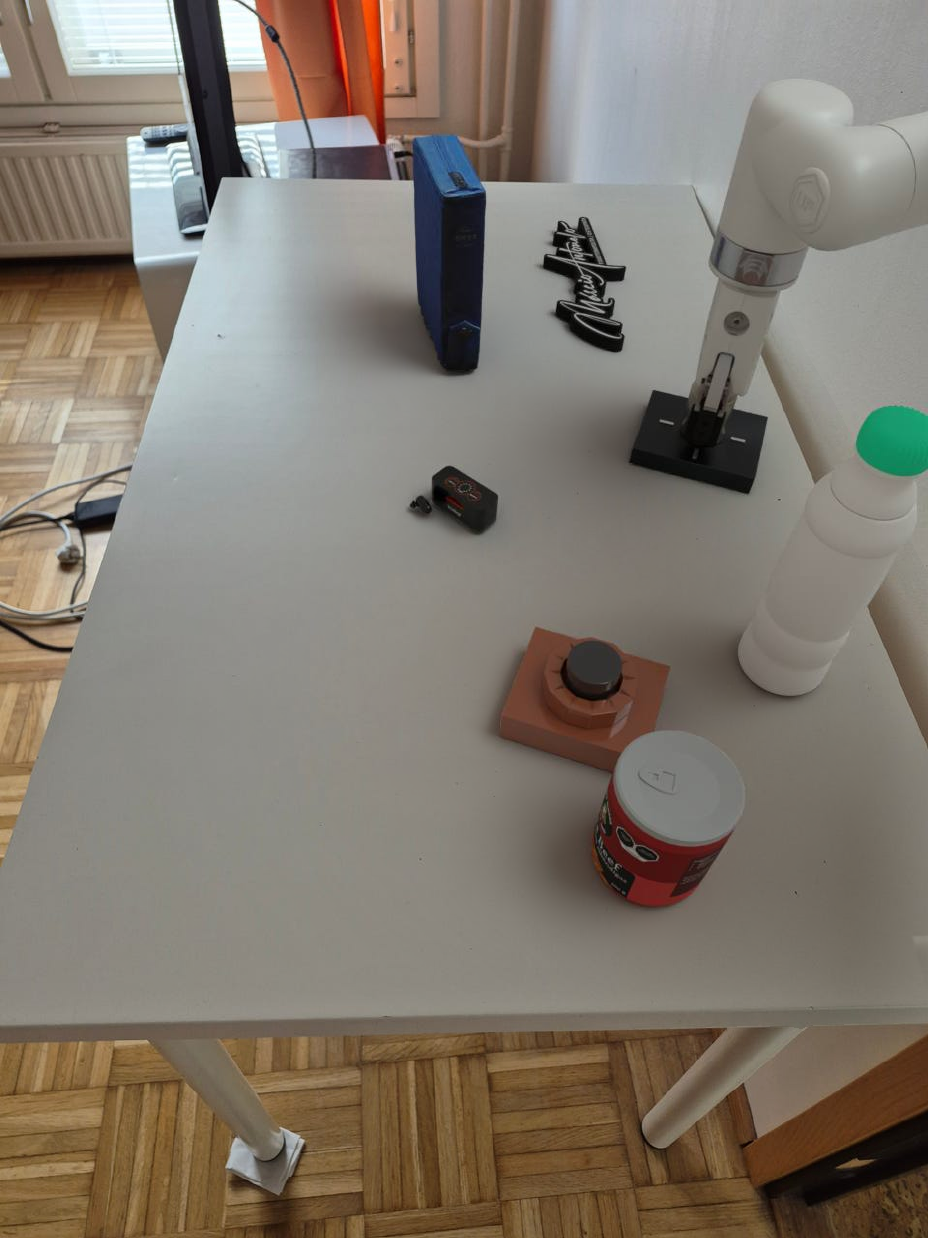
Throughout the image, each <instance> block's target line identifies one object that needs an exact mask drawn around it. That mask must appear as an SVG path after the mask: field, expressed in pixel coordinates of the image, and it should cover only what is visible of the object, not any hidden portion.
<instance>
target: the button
mask: <svg viewBox="0 0 928 1238" xmlns="http://www.w3.org/2000/svg"><path fill="white" fill-rule="evenodd" d="M621 671H622V661H621V658H620V656H619V654H618V653H617V651H616V650H615V649H614V648H612V647H611V646H609V645H608V644H606V643H603V642H600V641H584V642H581V643H579V644H577V645H576V646H574V647H573V648H572V649H571V651H570V652H569V655H568V659H567V663H566V668H565V673H564V677H565V681H566V684H567V686H568V687H569V689H570V690H571V691H572V692H573V693H575V694H576V695H578V696H580V697H582V698H585V699H589V700H599V699H603V698H606V697H608V696H609V695H611V694H612V693H613V692H614V690H615V689H616V687H617V684H618V681H619V677H620V674H621Z"/></svg>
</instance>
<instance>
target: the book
mask: <svg viewBox="0 0 928 1238" xmlns="http://www.w3.org/2000/svg"><path fill="white" fill-rule="evenodd" d="M411 145H412V181H413V212H414V213H413V215H414V247H415V248H414V250H415V274H416V292H417V293H416V294H417V296H416V297H417V303H418V306H419V308H420V315H421V316H422V317H423V325H425V328H426V330H427V331H428V333H429V339H430V340H431V341H432V345H433V346H434V347H433V348H434V351H435V352H436V356H437V361H438V363H439V366H441V368H442V369H444V370H445V371H448V372H470V371H472V370H473V371H474V370H476V369H478V367H479V361H480V351H481V333H482V317H483V315H482V314H483V293H484V292H483V291H484V266H485V239H486V238H485V237H486V211H487V191H486V188H485V187H484V185H483V184H482V182H481V180H480V179H479V177H478V173H476V171H475V168H474V167H473V165H472V163H471V161H470V159H469V157H468V155H467V154H466V152H465V149H464V147H463V144H462V143H461V141H460V139H459V138H458V136H457V135H456V134H454V133H452V134H431V135H426V136H415V137H414V138H413V139H412V143H411Z"/></svg>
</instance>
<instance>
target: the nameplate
mask: <svg viewBox="0 0 928 1238" xmlns="http://www.w3.org/2000/svg"><path fill="white" fill-rule="evenodd" d="M552 246H553V247H556V250H555V254H551V253H545V254H544V255H543V263H542V264H543V265H542V268H543V269H544V270H547V271H550V272H553V273H557V274H560V275H562V276H565V277H568V278H571V279H573V281H574V286H573V287H574V288H573V294H574V295H575V298H574V301H570V300H565V299H559V300H557V301H556V304H555V305H556V306H555V316H556V317H557V318H559V319H560V320H562V321H563V322H566V323H567V324H569V327H568V328H569V330H570V331H571V332H572V333H573V335H575V336H577V337H578V338H579V339H581V340H582V341H584V342H587V343H588V344H590V345H592V346H594V347H595V348H598V349H601V350H605V351H608V352H613V353H620V352H621V351H622V350H623V349H624V348H623V347H624V343H625V338H626V337H625V335H624V333H622V331H623V327H624V324H623V323H622V322H621V321H618V320H615V319H611V318H612V317H613V315H614V310H615V304H616V300H615V298H613V297H608V298H607V302H605V301H604V299H603V298H604V296H605V294H606V289H607V288H606V287H607V282H622V281H624V280H625V276H626V270H627V266H626V265H615V264H614V265H613V264H608V263H607V261H606V258H605V256H604V254H603V251H602V248H601V246H600V243H599V241H598V239H597V237H596V233H595V232H594V229H593V226H592V223H591V221H590V219H589V218H588V217H587V216H580V217H578V221H577V227H576V228H573V227H571V226H570V225H569V224H568V222H566V221H564V220H558V221H557V227H556V231H554V232H553V237H552Z"/></svg>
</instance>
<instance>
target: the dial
mask: <svg viewBox="0 0 928 1238" xmlns="http://www.w3.org/2000/svg"><path fill="white" fill-rule="evenodd" d="M709 378H713V377H709ZM726 382H728V381H727V380H726ZM700 388H701V384H700V387H699V386H698V385H697V383H696V381H695V380H694V381H693V383H692V384H691V387H690V391H689V394H688V397H687V398H688V401H687V404H686V408H685V411H684V415H683V418H682V422H681V425H680V431H681V434H682V435H683V436H684V433H685V429H686V426H687V423H688V419H689V416H690V412H691V409H692V406H693V404H696V402H697V398H698V395H699V391H700ZM708 391H709V388H706V391H705V394H704V396H707V395H708ZM723 396H724V392H723V393H722V396H721V399H720V400H722V399H723ZM738 396H739V395H735V394H733V390H732V391H731V393H730V396H729V399H728V402H727V406H726V409H725V412H727V413H726V416H725V419H724V422H723V425H722V428H721V431H720V434H719V437H718V440H717V443H716V444H718V443H719V442H721V441H722V440H723V438H724V435H725V432H726V429H727V426H728V423H729V420H730V417H731V414H732V411H733V409H735V405H736V402H737V400H738ZM692 443H693V442H692ZM694 444H697V443H694ZM697 445H701V444H697ZM702 446H705V445H702Z"/></svg>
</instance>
